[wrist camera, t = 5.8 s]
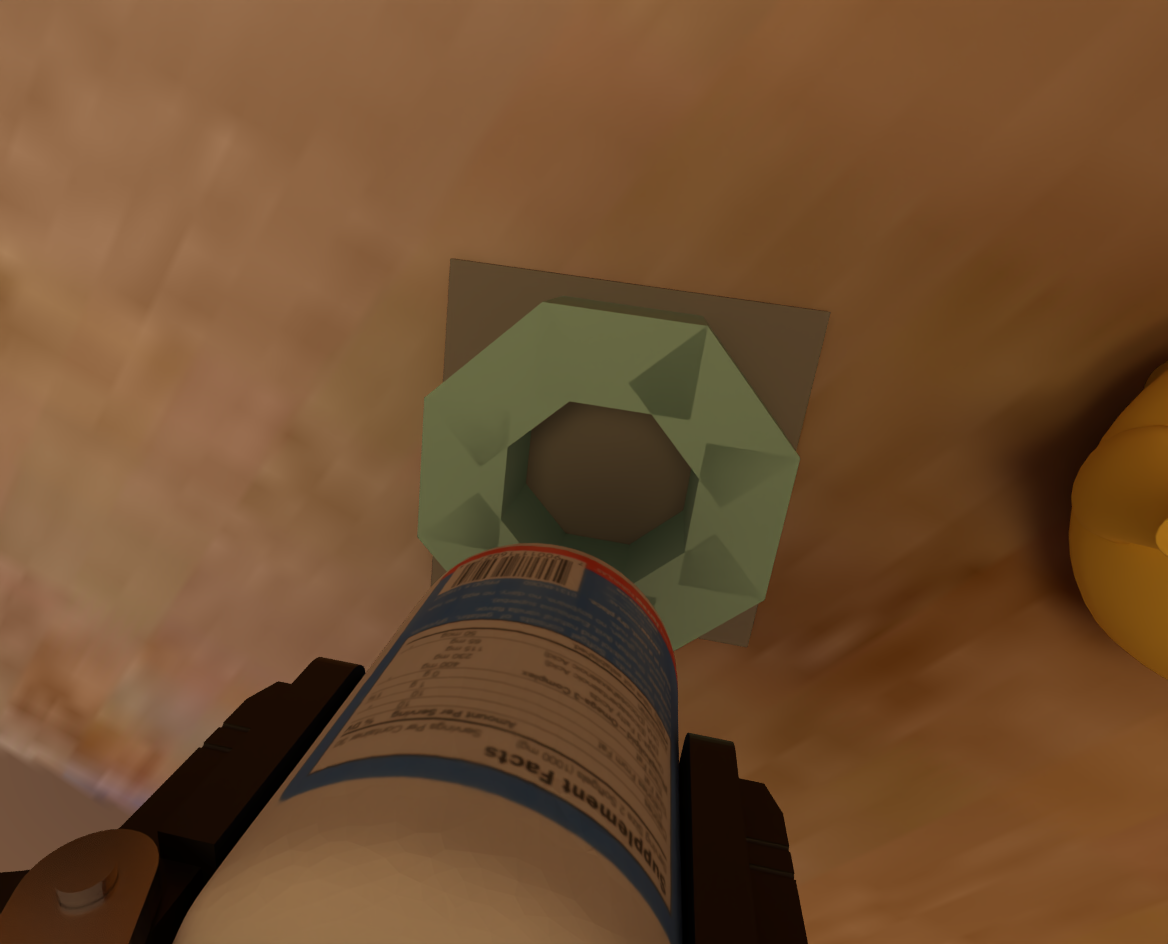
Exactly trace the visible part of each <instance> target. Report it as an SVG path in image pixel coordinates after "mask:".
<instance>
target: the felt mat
mask: <svg viewBox="0 0 1168 944" xmlns="http://www.w3.org/2000/svg"><path fill="white" fill-rule="evenodd" d="M561 296H568V297H575V298H582V299H589V300H595V301H602V302H609V303H616V304H623V305H630V306H637V307H644V308H651V309H658V310H665V311H672V312H679V313H686V314H693V315H699V316H703V317H704V319H705V320H706V322H707V323H708V325H709V326H710V327H711V329H712V330H713V332H714V333H715V335H716V336H717V337H718V339H719V340H720V342H721V343H722V345H723V346H724V347H725V349H726V350H727V352H728V353H729V355H730V356H731V357H732V359H733V360H734V362H735V363H736V365H737V366H738V367H739V369H740V370H741V372H742V373H743V375H744V376H745V378H746V379H747V380H748V382H749V383H750V385H751V386H752V388H753V389H754V390H755V392H756V393H757V395H758V396H759V398H760V399H761V400H762V402H763V403H764V405H765V406H766V408H767V409H768V410H769V412H770V413H771V415H772V416H773V418H774V419H775V420H776V422H777V423H778V425H779V426H780V428H781V429H782V430H783V432H784V433H785V435H786V437H787V438H788V440H789V441H790V443H791V444H792V446H793V448H794V449H795V451H796V449H797V445H798V441H799V437H800V433H801V429H802V425H803V421H804V417H805V413H806V409H807V405H808V401H809V397H810V393H811V389H812V385H813V381H814V377H815V373H816V369H817V365H818V361H819V357H820V353H821V349H822V345H823V341H824V337H825V333H826V329H827V325H828V321H829V316H830V312H827V311H820V310H813V309H806V308H799V307H792V306H785V305H778V304H771V303H764V302H757V301H750V300H742V299H735V298H728V297H721V296H714V295H707V294H700V293H693V292H686V291H679V290H672V289H665V288H658V287H650V286H643V285H636V284H629V283H622V282H615V281H608V280H601V279H594V278H587V277H580V276H573V275H565V274H558V273H551V272H544V271H537V270H530V269H523V268H516V267H509V266H502V265H495V264H488V263H481V262H473V261H466V260H459V259H450V273H449V290H448V307H447V323H446V340H445V357H444V374H443V382H444V381H446V380H447V379H448V378H449V377H451V376H452V375H453V374H454V373H455V372H457V371H458V370H459V369H460V368H462V367H463V366H464V365H465V364H467V363H468V362H469V361H470V360H471V359H473V358H474V357H475V356H476V355H478V354H479V353H480V352H481V351H483V350H484V349H485V348H486V347H487V346H489V345H490V344H491V343H492V342H494V341H495V340H496V339H497V338H499V337H500V336H501V335H502V334H503V333H505V332H506V331H507V330H508V329H510V328H511V327H512V326H513V325H515V324H516V323H517V322H518V321H519V320H521V319H522V318H523V317H524V316H526V315H527V314H528V313H529V312H531V311H532V310H533V309H534V308H535V307H537V306H538V305H539V304H540V303H542V302H543V301H547V300H550V299H554V298H557V297H561ZM690 473H691V467H690V466H689V465H688V463H687V462H686V461H685V459H684V458H683V457H682V455H681V454H680V452H679V451H678V450H677V448H676V447H675V446H674V444H673V443H672V442H671V440H670V439H669V438H668V436H667V435H666V433H665V432H664V431H663V429H662V428H661V427H660V425H659V424H658V423H657V421H656V420H655V419H654V417H653V416H652V414H646V413H640V412H634V411H627V410H621V409H615V408H609V407H602V406H596V405H590V404H583V403H577V402H571V401H569V402H568V403H567V404H565V405H564V406H563V407H561V408H560V409H559V410H557V411H556V412H555V413H553V414H552V415H550V416H549V417H548V418H546V419H545V420H544V421H542V422H541V423H540V424H538V425H537V426H536V427H534V428H533V429H532V430H531V439H530V448H529V458H528V467H527V476H526V484H527V486H528V487H529V488H530V489H531V491H532V492H533V493H534V494H535V496H536V497H537V498H538V499H539V501H540V502H541V503H542V504H543V506H544V507H545V508H546V509H547V511H548V512H549V513H550V514H551V516H552V517H553V518H554V519H555V521H556V522H557V523H558V524H559V526H560V527H561V528H562V529H563V531H564V532H565V533H566V534H572V535H578V536H583V537H589V538H595V539H600V540H606V541H611V542H617V543H623V544H628V545H630V544H631V543H633V542H634V541H636V540H637V539H639V538H641V537H642V536H644V535H645V534H647V533H648V532H650V531H652V530H653V529H655V528H656V527H658V526H659V525H661V524H663V523H664V522H666V521H667V520H669V519H670V518H672V517H674V516H675V515H677V514H678V513H680V512H681V511H683V509H684V504H685V499H686V494H687V489H688V484H689V478H690ZM446 572H447V571H446V570H445V569H444V568H443V567H442V566H441V564H440V563H439V562H438V561H437V560H436V558H435V557H434V556H433V560H432V576H431V587H432V586H433V584H434V583H435V582H436V581H437V580H438V579H439V578H440V577H441V576H442V575H443V574H445V573H446ZM757 606H758V604H757V605H755V606H753V607H751V608H749V609H748V610H746V611H744V612H742V613H741V614H739V615H737V616H735V617H733V618H732V619H730V620H728V621H726V622H725V623H723V624H721V625H719V626H717V627H716V628H714V629H712V630H710V631H709V632H707V633H705V634H703V635H701V636H700V637H698V638H700V639H705V640H711V641H716V642H721V643H727V644H732V645H737V646H743V647H748V643H749V639H750V635H751V631H752V627H753V623H754V619H755V614H756V610H757Z"/></svg>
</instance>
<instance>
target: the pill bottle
mask: <svg viewBox="0 0 1168 944" xmlns="http://www.w3.org/2000/svg"><path fill="white" fill-rule="evenodd" d="M172 944H683V918H682V881H681V842H680V792H679V747H678V685H677V671H676V663H675V656H674V652H673V648H672V645H671V641H670V638H669V636H668V633H667V631H666V628H665V626H664V624H663V622H662V620H661V618H660V617H659V615H658V613H657V612H656V610H655V608H654V607H653V606H652V604H651V603H650V601H649V600H648V599H647V598H646V596H645V595H644V594H643V593H642V592H641V591H640V589H639V588H638V587H637V586H636V585H635V584H633V583H632V582H631V581H630V580H629V579H628V578H627V577H625V576H624V575H623V574H622V573H621V572H619V571H618V570H616V569H615V568H613V567H612V566H610V565H609V564H607V563H605V562H603V561H602V560H600V559H598V558H596V557H594V556H592V555H589V554H587V553H584V552H581V551H578V550H575V549H572V548H567V547H563V546H558V545H552V544H542V543H519V544H512V545H506V546H500V547H496V548H492V549H489V550H486V551H483V552H480V553H477V554H475V555H473V556H471V557H468V558H466V559H465V560H463V561H461V562H460V563H458V564H457V565H455V566H454V567H452V568H451V569H450V570H448V571H447V572H446V573H445V574H443V575H442V576H441V577H440V578H439V579H438V580H437V581H436V582H435V583H434V584H433V586H432V587H431V588H430V589H429V590H428V591H427V592H426V594H425V595H424V596H423V597H422V599H421V600H420V601H419V602H418V604H417V605H416V606H415V608H414V609H413V610H412V612H411V613H410V614H409V616H408V617H407V618H406V620H405V621H404V622H403V624H402V625H401V626H400V628H399V629H398V630H397V632H396V633H395V634H394V636H393V637H392V639H391V640H390V641H389V643H388V644H387V645H386V647H385V648H384V649H383V651H382V652H381V653H380V655H379V656H378V657H377V659H376V660H375V662H374V663H373V664H372V666H371V667H370V668H369V670H368V671H367V672H366V674H365V675H364V676H363V678H362V679H361V680H360V682H359V683H358V684H357V686H356V687H355V688H354V690H353V691H352V692H351V694H350V695H349V696H348V698H347V699H346V700H345V702H344V703H343V704H342V706H341V707H340V708H339V710H338V711H337V712H336V714H335V715H334V716H333V718H332V719H331V720H330V722H329V723H328V724H327V726H326V727H325V728H324V730H323V731H322V732H321V734H320V735H319V736H318V738H317V739H316V740H315V742H314V743H313V744H312V746H311V747H310V748H309V750H308V751H307V752H306V754H305V755H304V756H303V758H302V759H301V760H300V762H299V763H298V764H297V766H296V767H295V768H294V770H293V771H292V772H291V774H290V775H289V776H288V777H287V779H286V780H285V781H284V783H283V784H282V785H281V786H280V788H279V789H278V790H277V792H276V793H275V794H274V796H273V797H272V798H271V799H270V801H269V802H268V803H267V805H266V806H265V807H264V808H263V810H262V811H261V812H260V814H259V815H258V816H257V817H256V819H255V820H254V821H253V823H252V824H251V825H250V827H249V828H248V829H247V831H246V832H245V833H244V835H243V836H242V837H241V839H240V840H239V841H238V843H237V844H236V845H235V847H234V848H233V849H232V850H231V852H230V853H229V854H228V856H227V857H226V858H225V860H224V861H223V862H222V864H221V865H220V866H219V868H218V869H217V870H216V872H215V873H214V874H213V876H212V877H211V879H210V880H209V881H208V883H207V884H206V885H205V887H204V888H203V890H202V891H201V892H200V894H199V895H198V896H197V898H196V900H195V901H194V903H193V904H192V906H191V907H190V909H189V911H188V912H187V914H186V916H185V918H184V920H183V922H182V924H181V926H180V928H179V930H178V932H177V935H176V937H175V939H174V941H173V943H172Z"/></svg>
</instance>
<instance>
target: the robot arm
mask: <svg viewBox="0 0 1168 944" xmlns="http://www.w3.org/2000/svg"><path fill="white" fill-rule="evenodd" d="M364 675H365V669H364V667H363V666H362V665H358V664H353V663H348V662H343V661H338V660H333V659H328V658H323V657H318V658H316V659H314V660H313V661H312V662H311V663H310V664H309V665H308V666H307V668H306V669H305V670H304V671H303V672H302V673H301V674H300V675H299V676H298V677H297V679H296V680H295V681H294V682H293V683H292V684H288V683H284V682H279V681H278V682H276V683H274V684H273V685H271V686H269V687H267V688H265V689H264V690H262V691H260V692H258V693H256V694H255V695H253V696H251V697H249V698H247V699H246V700H245V701H244V702H243V703H242V704H241V705H240V706H239V707H238V708H237V709H236V710H235V711H234V712H233V713H232V714H231V715H230V716H229V717H228V718H227V719H226V720H225V721H224V723H223V726H222V728H221V727H219V728H218V729H217V730H216V731H215V732H214V733H213V734H212V735H211V736H210V737H209V738H208V739H207V740H206V741H205V742H204V745H203V747H202V748H200V747H199V748H198V749H197V750H196V751H195V752H194V753H193V754H192V755H191V756H190V757H189V758H188V759H187V760H186V761H185V762H184V763H183V764H182V765H181V766H180V767H179V768H178V769H177V770H176V771H175V772H174V773H173V774H172V775H171V776H170V777H169V778H168V779H167V780H166V781H165V782H164V783H163V784H162V785H161V787H160V788H159V789H158V790H157V791H156V792H155V793H154V794H153V795H152V796H151V797H150V798H149V799H148V800H147V801H146V802H145V803H144V804H143V805H142V806H141V807H140V808H139V809H138V810H137V811H136V812H135V813H134V814H133V815H132V816H131V817H130V818H129V819H128V820H127V821H126V822H125V823H124V824H123V825H122V826H121V827H120V828H119V829H111V830H105V831H100V832H96V833H92V834H88V835H86V836H83V837H80V838H78V839H75V840H74V841H71V842H69V843H67V844H65V845H64V846H62V847H60V848H58V849H57V850H55V851H53V852H52V853H50V854H49V855H48V856H46V857H45V858H43V859H42V860H41V861H40V862H38V864H36V865H35V866H34V867H33V868H32V869H31V870H25V871H15V872H3V873H0V944H172V943H173V941H174V939H175V937H176V935H177V932H178V930H179V928H180V926H181V924H182V922H183V920H184V918H185V916H186V914H187V912H188V911H189V909H190V907H191V906H192V904H193V903H194V901H195V900H196V898H197V896H198V895H199V894H200V892H201V891H202V890H203V888H204V887H205V885H206V884H207V883H208V881H209V880H210V879H211V877H212V876H213V874H214V873H215V872H216V870H217V869H218V868H219V866H220V865H221V864H222V862H223V861H224V860H225V858H226V857H227V856H228V854H229V853H230V852H231V850H232V849H233V848H234V847H235V845H236V844H237V843H238V841H239V840H240V839H241V837H242V836H243V835H244V833H245V832H246V831H247V829H248V828H249V827H250V825H251V824H252V823H253V821H254V820H255V819H256V817H257V816H258V815H259V814H260V812H261V811H262V810H263V808H264V807H265V806H266V805H267V803H268V802H269V801H270V799H271V798H272V797H273V796H274V794H275V793H276V792H277V790H278V789H279V788H280V786H281V785H282V784H283V783H284V781H285V780H286V779H287V777H288V776H289V775H290V774H291V772H292V771H293V770H294V768H295V767H296V766H297V764H298V763H299V762H300V760H301V759H302V758H303V756H304V755H305V754H306V752H307V751H308V750H309V748H310V747H311V746H312V744H313V743H314V742H315V740H316V739H317V738H318V736H319V735H320V734H321V732H322V731H323V730H324V728H325V727H326V726H327V724H328V723H329V722H330V720H331V719H332V718H333V716H334V715H335V714H336V712H337V711H338V710H339V708H340V707H341V706H342V704H343V703H344V702H345V700H346V699H347V698H348V696H349V695H350V694H351V692H352V691H353V690H354V688H355V687H356V686H357V684H358V683H359V682H360V680H361V679H362V678H363V676H364ZM679 792H680V842H681V881H682V918H683V944H808V942H807V937H806V931H805V926H804V921H803V916H802V911H801V905H800V900H799V895H798V890H797V885H796V880H794V869H793V864H792V859H791V853H790V852H789V843H788V838H787V833H786V827H785V822H784V817H783V813H782V811H781V810H780V808H779V807H778V805H777V803H776V802H775V800H774V799H773V797H772V795H771V794H770V792H769V791H768V789H767V787H766V786H765V784H763V783H759V782H754V781H749V780H744V779H740V778H739V776H738V768H737V760H736V751H735V746H734V743H733V742H731V741H726V740H722V739H717V738H712V737H707V736H702V735H697V734H692V733H687V735H686V737H685V740H684V744H683V749H682V753H681V758H680V762H679Z"/></svg>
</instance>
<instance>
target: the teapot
mask: <svg viewBox="0 0 1168 944" xmlns="http://www.w3.org/2000/svg"><path fill="white" fill-rule="evenodd" d="M1071 501H1072V510H1071V518H1070V527H1069V550H1070V559H1071V564H1072V568H1073V573H1074V577H1075V580H1076V582H1077V585H1078V588H1079V590H1080V593H1081V595H1082V598H1083V600H1084V603H1085V604H1086V606H1087V608H1088V609H1089V611H1090V613H1091V614H1092V616H1093V618H1094V619H1095V621H1096V622H1097V623H1098V624H1099V626H1100V627H1101V628H1102V629H1103V630H1104V631H1105V633H1106V634H1107V635H1108V636H1109V637H1110V638H1111V639H1112V640H1113V641H1114V642H1116V643H1117V644H1118V645H1119V646H1120V647H1121V648H1123V649H1124V650H1125V651H1126V652H1127V653H1129V654H1130V655H1131V656H1132V657H1134V658H1135V659H1136V660H1138V661H1139V662H1140V663H1141V664H1143V665H1144V666H1146V667H1147V668H1149V669H1150V670H1152V671H1154V672H1155V673H1157V674H1158V675H1160V676H1162V677H1163V678H1165V679H1167V680H1168V361H1166V362H1165V363H1163V364H1161V365H1160V366H1159V367H1158V368H1156V369H1155V370H1154V371H1153V372H1152V374H1151V375H1150V376H1149V378H1148V379H1147V381H1146V384H1145V386H1144V390H1143V391H1142V392H1141V393H1140V394H1139V395H1138V396H1137V397H1136V398H1135V399H1134V400H1133V401H1132V402H1131V403H1130V404H1129V405H1128V406H1127V407H1126V408H1125V410H1124V411H1123V412H1122V413H1121V414H1120V415H1119V416H1118V418H1117V419H1116V420H1115V422H1114V423H1113V424H1112V426H1111V427H1110V428H1109V430H1108V431H1107V432H1106V434H1105V435H1104V436H1103V438H1102V439H1101V441H1100V443H1099V444H1098V446H1097V448H1096V449H1095V450H1094V451H1092V452H1091V454H1090V455H1089V456H1088V458H1087V459H1086V461H1085V462H1084V463H1083V465H1082V466H1081V468H1080V470H1079V472H1078V474H1077V476H1076V479H1075V481H1074V483H1073V489H1072V494H1071Z"/></svg>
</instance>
